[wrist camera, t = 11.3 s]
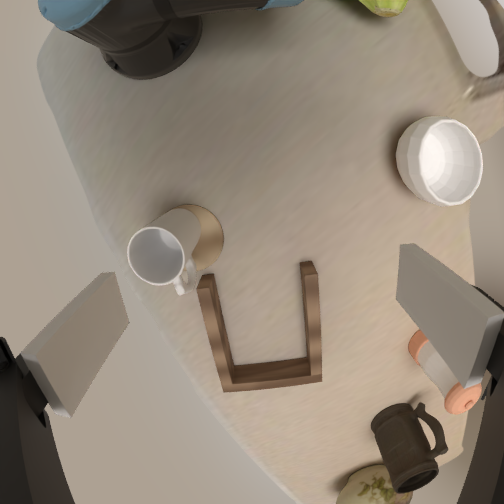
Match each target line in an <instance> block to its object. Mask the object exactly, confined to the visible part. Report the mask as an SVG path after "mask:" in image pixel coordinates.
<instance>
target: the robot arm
mask: <svg viewBox="0 0 504 504" xmlns="http://www.w3.org/2000/svg"><path fill="white" fill-rule="evenodd" d="M302 1H304V0H38V5H39V10H40V12H41V14H42V15H43V16H44V17H45V18H46V19H47V20H49V21H50V22H52V23H54V24H55V25H56V27H58V28H59V29H60V30H62V31H66V32H68V33H70V34H72V35H74V36H76V37H78V38H80V39H82V40H84V41H86V42H88V43H90V44H92V45H94V46H96V47H98V48H100V50H101V53H102V55H103V57H104V59H105V61H106V63H107V64H108V65H109V66H110V67H111V68H112V69H113V70H115V71H116V72H118V73H120V74H122V75H124V76H126V77H129V78H132V79H152V78H156V77H159V76H162V75H165V74H167V73H169V72H171V71H173V70H174V69H176V68H177V67H179V66H180V65H181V64H182V63H184V62H185V61H186V60H187V59H188V58H189V56H190V55H191V54H192V53H193V51H194V50H195V48H196V46H197V44H198V42H199V40H200V36H201V32H202V22H201V17H200V15H202V14H208V13H216V12H224V11H233V10H245V9H256V10H264V9H267V8H274V7H291V6H295V5H298V4H299V3H301V2H302ZM396 300H397V301H398V302H399V303H400V305H401V306H402V307H403V308H404V310H405V311H406V312H407V313H408V315H409V316H410V317H411V318H412V320H413V321H414V322H415V323H416V325H417V326H418V327H419V328H420V330H421V331H422V332H423V334H424V335H425V336H426V337H427V339H428V340H429V341H430V343H431V344H432V345H433V347H434V348H435V349H436V351H437V352H438V353H439V355H440V356H441V357H442V359H443V360H444V361H445V363H446V364H447V366H448V367H449V368H450V370H451V371H452V372H453V374H454V375H455V377H456V378H457V380H458V381H459V382H460V384H461V385H462V387H463V388H464V389H466V388H468V387H471V386H474V385H476V384H479V383H481V381H482V378H483V376H484V373H485V371H486V369H487V370H488V371H489V372H490V373H491V375H492V376H491V378H490V380H489V383H488V385H487V387H486V389H485V391H484V394H483V396H482V398H481V399H482V400H483V399H484V398H485V396H486V401H485V406H484V412H483V417H482V422H481V426H480V431H479V435H478V439H477V443H476V447H475V451H474V454H473V458H472V461H471V465H470V468H469V471H468V474H467V477H466V480H465V483H464V486H463V489H462V491H461V494H460V497H459V499H458V502H457V504H504V307H502V306H501V305H500V304H499V303H498V302H496V301H494V299H492V298H491V297H490V296H488V294H486V293H485V292H484V291H483V290H481V289H480V288H478V287H475V286H473V285H471V284H469V283H468V282H466V281H465V280H464V279H463V278H461V277H460V276H459V275H457V274H456V273H455V272H453V271H452V270H451V269H449V268H448V267H447V266H445V265H444V264H443V263H441V262H440V261H438V260H437V259H436V258H434V257H433V256H432V255H430V254H429V253H427V252H426V251H424V250H423V249H422V248H420V247H419V246H417V245H416V244H414V243H412V244H403V245H400V255H399V270H398V282H397V292H396ZM128 324H129V319H128V316H127V313H126V310H125V306H124V303H123V300H122V296H121V293H120V289H119V286H118V283H117V279H116V275H115V272H109V273H101V274H100V275H99V276H98V277H97V278H95V280H93V281H92V282H91V283H90V284H89V285H88V286H87V287H86V288H85V289H84V290H82V291H81V292H80V293H79V294H78V295H77V296H76V297H75V298H74V299H73V300H72V301H71V302H70V303H69V304H68V305H67V306H66V307H65V308H64V309H63V310H62V311H61V312H60V313H59V314H58V315H57V316H56V317H55V318H54V319H53V320H52V321H51V322H50V323H49V324H48V325H47V326H46V327H45V328H44V329H43V330H42V331H41V332H40V333H39V334H38V335H37V336H36V337H35V338H34V339H33V340H32V341H31V342H30V343H29V344H28V345H27V346H26V348H25V349H24V350H23V351H22V352H21V353H20V354H19V355H18V356H17V357H16V359H15V358H14V356H13V354H12V352H11V350H10V348H9V346H8V344H7V342H6V339H5V338H3V337H0V504H75V502H74V500H73V497H72V495H71V492H70V489H69V486H68V484H67V481H66V478H65V475H64V472H63V469H62V465H61V462H60V459H59V456H58V452H57V449H56V445H55V441H54V437H53V433H52V429H51V425H50V420H49V416H48V414H47V412H46V411H45V410H44V408H45V406H46V405H47V403H49V405H50V406H51V408H52V409H53V411H54V412H55V414H57V415H61V416H66V417H70V418H71V417H72V416H73V414H74V412H75V410H76V408H77V407H78V405H79V403H80V402H81V400H82V398H83V397H84V395H85V393H86V391H87V389H88V388H89V386H90V385H91V383H92V381H93V380H94V378H95V376H96V375H97V373H98V371H99V370H100V368H101V367H102V365H103V363H104V362H105V360H106V359H107V357H108V355H109V354H110V352H111V351H112V349H113V347H114V346H115V344H116V343H117V341H118V339H119V338H120V337H121V335H122V333H123V332H124V330H125V329H126V327H127V326H128Z"/></svg>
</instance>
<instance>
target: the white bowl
mask: <svg viewBox="0 0 504 504" xmlns="http://www.w3.org/2000/svg"><path fill="white" fill-rule="evenodd" d="M396 161H397V169H398V171H399V173H400V176H401V178H402V180H403V182H404V183H405V185H406V186H407V187H408V188H409V189H410V190H411V191H412V192H413V193H414V194H415V195H416V196H417V197H418V198H419V199H422V200H424V201H427V202H430V203H432V204H435V205H438V206H440V207H443V206H452V205H458V204H462V203H464V202H465V201H466V200H468V199H469V198H471V197H472V196H473V194H474V192H475V191H476V189H477V187H478V186H479V184H480V180H481V176H482V170H483V163H482V152H481V150H480V147H479V144H478V142H477V139H476V137H475V136H474V135H473V133H472V132H471V131H470V130H469V128H468V127H467V126H466V125H464V124H462V123H460V122H458V121H457V120H455V119H452V118H450V117H447V116H430V117H423V118H421V119H419V120H418V121H416V122H414V123H412V124H411V125H410V126H409V127H408V128H407V129H406V130H405V132H404V133H403V134H402V136H401V137H400V139H399V141H398V146H397V151H396Z"/></svg>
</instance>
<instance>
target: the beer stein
mask: <svg viewBox="0 0 504 504" xmlns="http://www.w3.org/2000/svg"><path fill="white" fill-rule="evenodd" d="M417 417H419V418H421V419H422V420H423V421H425V422H426V423H427V424H428V425H429V427H430V428H431V430H432V431H433V433H434V436H435V440H436V445H435V448H434V449H433V450H431V447H430V444H429V442H428V440H427V438H426V436H425V434H424V431H423V429H422V426H421V424H420V422H419V420H418V418H417ZM371 429H372V431H373V432H374V434H375V439H376V442H377V445H378V447H379V450H380V453H381V455H382V458H383V461H384V464H385V466H386V468H387V470H388V472H389V476H390V479H391V482H392V487H393V489H394V490H395V492H396V493H398V494H404V493H409V492H412V491H414V490H417V489H419V488H421V487H423V486H425V485H426V484H428V483H429V482H431V481H432V480H433V479H434V478H435V477H436V476H437V475H438V472H439V469H438V464H437V462H436V461H435V459H434V458H435V457H437V456H438V455H442V454H445V453H446V452H447V451H448V447H447V445H446V442H445V436H444V431H443V428H442V426H441V424H440V422H439V421H438V420H437V419H436V418H434V417H433V416H431V415H429V414H428V413H426V411H425V405H424V404H423V403H419V404H418V406H417V408H416V409H415V410H414V411H413V408H412V407H411V406H410V405H408V404H397V405H393V406H390V407H388V408H387V409H385V410H383V411H382V412H380V413H379V414H378V415H377V416H376V417H375V418H374V419H373V421H372V423H371Z"/></svg>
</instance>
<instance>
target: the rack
mask: <svg viewBox="0 0 504 504" xmlns="http://www.w3.org/2000/svg"><path fill="white" fill-rule="evenodd" d="M300 270H301V281H302V293H303V305H304V318H305V331H306V346H307V357H306V358H299V359H291V360H284V361H276V362H267V363H258V364H248V365H237V366H234V363H233V359H232V355H231V351H230V346H229V342H228V337H227V333H226V329H225V324H224V319H223V315H222V310H221V306H220V301H219V296H218V292H217V287H216V282H215V277H214V274H207V275H202V277H201V280H200V282H199V284H198V287H197V293H198V298H199V302H200V306H201V310H202V314H203V318H204V322H205V326H206V330H207V334H208V338H209V341H210V345H211V349H212V353H213V356H214V360H215V364H216V367H217V371H218V374H219V378H220V381H221V385H222V388H223V392H237V391H250V390H261V389H270V388H279V387H287V386H295V385H302V384H309V383H316V382H322V352H321V324H320V304H319V287H318V273H317V271H316V269H315V267H314V265H313V263H312V261H308V262H300Z"/></svg>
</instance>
